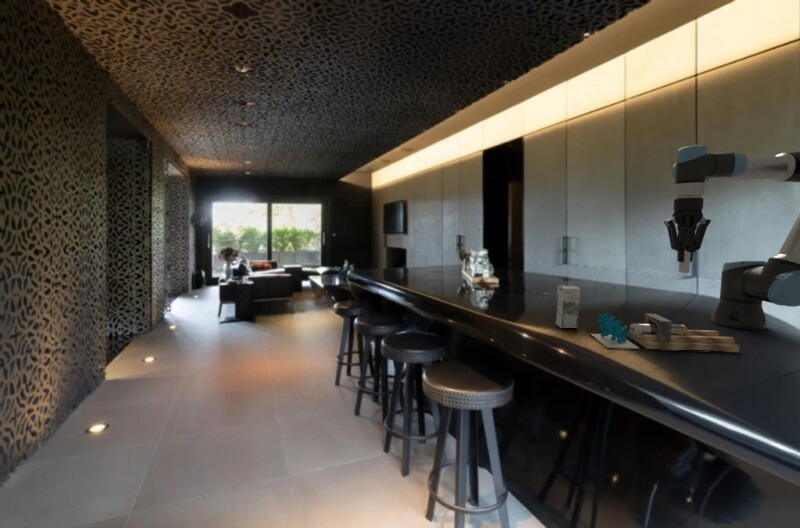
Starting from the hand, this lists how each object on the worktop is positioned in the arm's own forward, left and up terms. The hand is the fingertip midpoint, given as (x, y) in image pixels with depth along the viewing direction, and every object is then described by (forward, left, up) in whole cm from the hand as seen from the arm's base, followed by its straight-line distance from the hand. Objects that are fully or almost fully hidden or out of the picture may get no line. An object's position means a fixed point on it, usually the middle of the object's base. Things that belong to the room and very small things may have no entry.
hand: (684, 272), depth 127 cm
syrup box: (+33, -7, -21) cm, 40 cm away
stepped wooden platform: (+5, +9, -21) cm, 23 cm away
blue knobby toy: (+24, +8, -21) cm, 33 cm away
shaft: (+11, +9, -18) cm, 23 cm away
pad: (+24, +9, -21) cm, 33 cm away
